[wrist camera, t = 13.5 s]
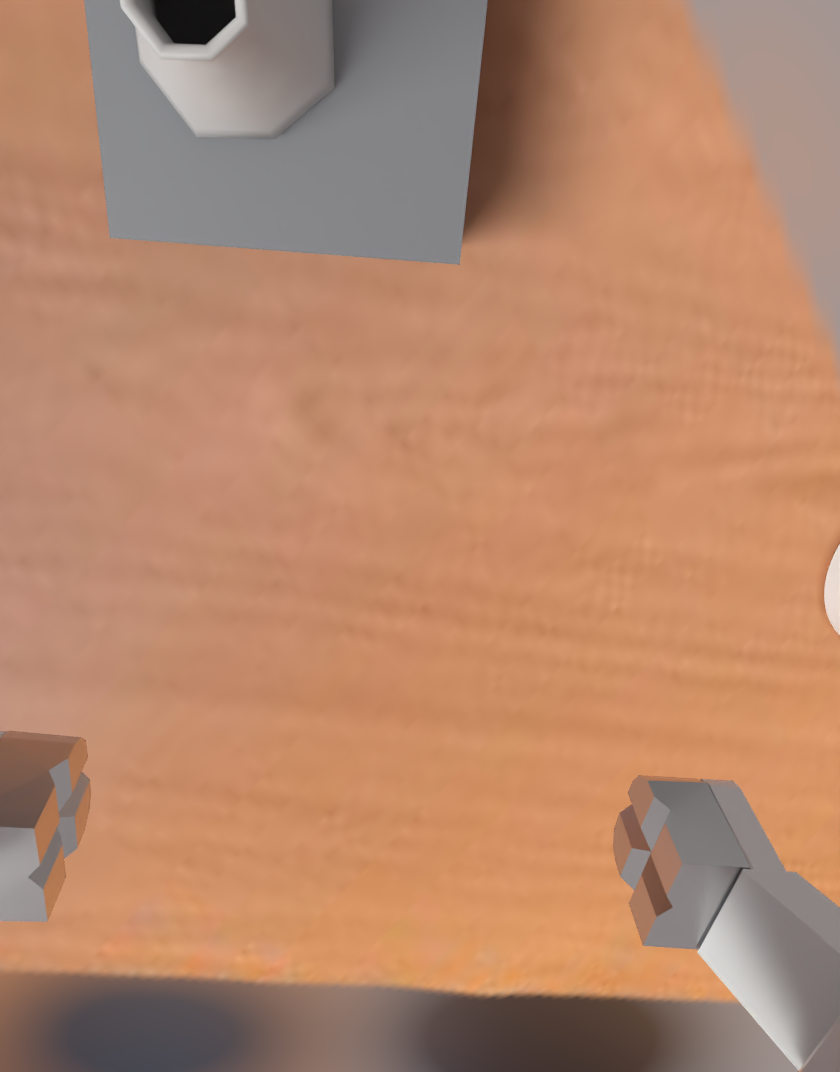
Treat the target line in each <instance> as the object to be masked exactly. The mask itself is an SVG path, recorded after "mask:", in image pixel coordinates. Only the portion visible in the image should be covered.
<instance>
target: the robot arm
mask: <svg viewBox="0 0 840 1072" xmlns="http://www.w3.org/2000/svg"><path fill="white" fill-rule="evenodd" d="M824 600H825V607H826V612H827V615H828V618H829V620H830V622H831V624H832V626H833V628H834V629H835V630H836V632H837V633H838V634H839V635H840V544H839V546H838V548H837V550H836V552H835V554H834V556H833V558H832V561H831V563H830V566H829V569H828V573H827V576H826V582H825V589H824ZM87 758H88V753H87V746H86V740H85V739H83V738H81V737H71V736H60V735H49V734H39V733H28V732H17V731H0V921H41V922H48V919H49V917H50V915H51V912H52V910H53V907H54V905H55V902H56V900H57V897H58V895H59V893H60V890H61V888H62V885H63V883H64V880H65V878H66V872H65V862H64V858H65V857H67V856H68V855H69V854H71V853H72V852H73V851H75V850H76V849H77V848H78V846H79V843H80V841H81V838H82V835H83V833H84V830H85V826H86V822H87V818H88V813H89V809H90V797H91V787H90V779H89V778H88V777H87V776H86V775H85V774H84V773H83V772H82V770H83V767H84V765H85V763H86V761H87ZM628 794H629V797H630V800H631V803H632V805H630V806H629V807H627V808H626V809H625V810H623V811H622V812H620V813H619V816H618V819H617V822H616V825H615V828H614V842H613V848H614V855H615V861H616V865H617V868H618V871H619V874H620V877H621V878H622V879H623V880H624V881H625V882H626V883H627V884H628V885H630V886H631V887H632V888H633V889H634V892H633V895H632V897H631V900H630V902H629V905H630V908H631V911H632V914H633V917H634V920H635V923H636V926H637V929H638V932H639V935H640V938H641V941H642V944H643V946H656V947H670V948H684V949H698V954H699V955H700V956H701V957H702V958H703V959H704V961H705V962H706V963H707V964H708V965H709V966H710V968H711V969H712V970H713V971H714V972H715V974H716V975H717V976H718V977H719V978H720V979H721V981H722V982H723V983H724V984H725V985H726V986H727V988H728V989H729V990H730V991H731V992H732V993H733V995H734V996H735V997H736V998H737V999H738V1000H739V1002H740V1003H741V1004H742V1005H743V1006H744V1007H745V1009H746V1010H747V1011H748V1012H749V1013H750V1014H751V1016H752V1017H753V1018H754V1019H755V1020H756V1021H757V1023H758V1024H759V1025H760V1026H761V1027H762V1028H763V1030H764V1031H765V1032H766V1033H767V1034H768V1035H769V1037H770V1038H771V1039H772V1040H773V1041H774V1042H775V1044H776V1045H777V1046H778V1047H779V1048H780V1049H781V1051H782V1052H783V1053H784V1054H785V1055H786V1056H787V1057H788V1059H789V1060H790V1061H791V1062H792V1063H793V1065H795V1067H796V1068H797V1069H798V1070H799V1071H798V1072H840V907H839V906H837V905H836V904H835V903H834V902H832V901H831V900H830V899H829V898H827V897H826V896H825V895H824V894H822V893H821V892H820V891H819V890H817V889H816V888H815V887H814V886H812V885H811V884H810V883H809V882H807V881H806V880H805V879H804V878H802V877H801V876H800V875H799V874H797V873H796V872H788V871H786V870H785V868H784V866H783V864H782V862H781V861H780V859H779V857H778V855H777V853H776V852H775V850H774V848H773V846H772V844H771V843H770V841H769V839H768V837H767V835H766V834H765V832H764V830H763V828H762V826H761V825H760V823H759V821H758V819H757V817H756V816H755V814H754V812H753V810H752V808H751V807H750V805H749V803H748V801H747V799H746V798H745V796H744V794H743V792H742V790H741V789H740V787H739V786H738V785H737V784H736V783H734V782H733V781H727V780H710V779H700V780H699V779H694V778H677V777H660V776H642V775H639V776H638V777H637V778H635V779H634V780H633V782H632V784H631V786H630V789H629V791H628Z"/></svg>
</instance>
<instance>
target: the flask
mask: <svg viewBox="0 0 840 1072" xmlns="http://www.w3.org/2000/svg"><path fill="white" fill-rule="evenodd" d="M120 5H121V8H122V10H123V11H124V12H125V14H126V15H127V16H128V18H129V19H130V20H131V22H132V23H133V24H134V26H135V31H136V39H137V46H138V54H139V61H140V64H141V65H142V66H143V68H144V69H145V70H146V72H147V73H148V74H149V76H150V77H151V78H152V80H153V81H154V82H155V83H156V85H157V86H158V87H159V89H160V90H161V91H162V93H163V94H164V95H165V96H166V98H167V99H168V100H169V102H170V103H171V104H172V106H173V107H174V108H175V110H176V111H177V112H178V113H179V115H180V116H181V117H182V119H183V120H184V121H185V123H186V124H187V125H188V126H189V128H190V129H191V130H192V132H193V133H194V134H195V136H196V137H211V138H247V139H275V138H277V137H278V136H279V135H280V134H281V133H282V132H284V131H285V130H286V129H287V128H288V127H290V126H291V125H292V124H293V123H294V122H295V121H297V120H298V119H299V118H300V117H301V116H302V115H304V114H305V113H306V112H307V111H308V110H309V109H311V108H312V107H313V106H314V105H315V104H316V103H318V102H319V101H320V100H321V99H322V98H324V97H325V96H326V95H327V94H328V93H329V92H331V91H332V90H333V89H334V48H333V7H332V0H120Z"/></svg>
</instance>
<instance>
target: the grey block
mask: <svg viewBox="0 0 840 1072" xmlns="http://www.w3.org/2000/svg"><path fill="white" fill-rule="evenodd" d="M84 2H85V11H86V21H87V30H88V39H89V48H90V58H91V67H92V76H93V86H94V95H95V104H96V113H97V123H98V132H99V141H100V151H101V160H102V169H103V178H104V188H105V197H106V206H107V215H108V225H109V234H110V238H119V239H132V240H145V241H158V242H171V243H184V244H197V245H210V246H224V247H237V248H250V249H263V250H276V251H289V252H302V253H315V254H328V255H341V256H354V257H368V258H381V259H394V260H407V261H420V262H433V263H446V264H459V265H460V257H461V247H462V238H463V228H464V219H465V210H466V200H467V191H468V181H469V172H470V162H471V153H472V144H473V134H474V125H475V115H476V106H477V97H478V87H479V78H480V68H481V59H482V50H483V40H484V31H485V21H486V12H487V2H488V0H332V7H333V48H334V89H333V90H332V91H331V92H329V93H328V94H327V95H326V96H325V97H324V98H322V99H321V100H320V101H319V102H318V103H316V104H315V105H314V106H313V107H312V108H311V109H309V110H308V111H307V112H306V113H305V114H304V115H302V116H301V117H300V118H299V119H298V120H297V121H295V122H294V123H293V124H292V125H291V126H290V127H288V128H287V129H286V130H285V131H284V132H282V133H281V134H280V135H279V136H278V137H277V138H275V139H247V138H211V137H196V136H195V134H194V133H193V132H192V130H191V129H190V128H189V126H188V125H187V124H186V123H185V121H184V120H183V119H182V117H181V116H180V115H179V113H178V112H177V111H176V110H175V108H174V107H173V106H172V104H171V103H170V102H169V100H168V99H167V98H166V96H165V95H164V94H163V93H162V91H161V90H160V89H159V87H158V86H157V85H156V83H155V82H154V81H153V80H152V78H151V77H150V76H149V74H148V73H147V72H146V70H145V69H144V68H143V66H142V65H141V64H140V61H139V54H138V46H137V39H136V31H135V26H134V24H133V23H132V22H131V20H130V19H129V18H128V16H127V15H126V14H125V12H124V11H123V10H122V8H121V5H120V0H84Z"/></svg>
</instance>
